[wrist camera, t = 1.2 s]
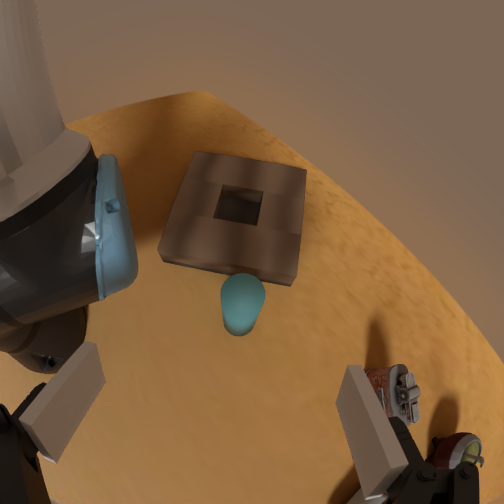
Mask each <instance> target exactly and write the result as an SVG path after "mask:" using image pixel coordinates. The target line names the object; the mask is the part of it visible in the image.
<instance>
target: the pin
mask: <svg viewBox="0 0 504 504" xmlns="http://www.w3.org/2000/svg"><path fill="white" fill-rule="evenodd" d="M264 300H265V289H264V286H263V284H262V283H261V282H260V280H259V279H258V278H256V277H255V276H253V275H251V274H247V273H238V274H234V275H232V276H230V277H229V278H228V279H227V280H226V281H225V282H224V284H223V285H222V288H221V304H222V313H223V322H224V326H225V328H226V330H227V331H228V332H229V333H230V334H232V335H234V336H244V335H246V334H248V333H249V332H250V331H251V330H252V329H253V326H254V324H255V322H256V319H257V317H258V315H259V312H260V310H261V308H262V305H263V303H264Z"/></svg>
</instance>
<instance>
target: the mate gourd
mask: <svg viewBox="0 0 504 504" xmlns="http://www.w3.org/2000/svg"><path fill="white" fill-rule="evenodd" d="M432 442H433V444H434V447H435V450H436V451H435V452H434V453H433V454H432V455H431V456H430V457H429V458H428V459H427V460H426V461H425V463H428V464H431V465H433V466H435V467H436V468H437V469H454V468H455V467H456V466H457V464H459V463H460V462H462V461H470V462H472V463H474V464H475V465H476V463H477V462H479V463H481V465H480V467H482V466H483V463H484V458H483V457H481V456H480V455H481V450H482V445H481V441H480V439H479V438H478V437H477V436H476V435H474V434H472V433H465V432H461V433H456V434H453V435H451V436H449V437H447V438H440V439H437V437H434V438H433V439H432Z"/></svg>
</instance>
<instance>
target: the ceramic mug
mask: <svg viewBox="0 0 504 504" xmlns="http://www.w3.org/2000/svg"><path fill="white" fill-rule="evenodd" d="M387 497H388V493H386V492H385V493H384V494H383V495H382V496H380V497H376V498H372V499H367V500H365V499H364V495H363V492H362V488H360V489H359V490H358V491H357V492H356V493H355V495H354V496H353V497H352V498H351V499H350V500H349V501H348V502H347V503H346V504H382V502H383V501H384V500H385V499H386V498H387Z"/></svg>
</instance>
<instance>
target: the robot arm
mask: <svg viewBox="0 0 504 504" xmlns="http://www.w3.org/2000/svg"><path fill="white" fill-rule="evenodd" d="M137 274H138V259H137V252H136V246H135V241H134V235H133V230H132V225H131V220H130V215H129V210H128V205H127V200H126V195H125V190H124V185H123V181H122V176H121V172H120V168H119V166H118V163H117V158H116V157H115V156H114V155H112V154H109V155H105V154H102V155H100V157H99V158H98V159H97V157H96V156H95V154H94V151H93V148H92V145H91V142H90V140H89V138H88V137H87V136H85V135H82V134H80V133H77V132H74V131H72V130H69V129H68V128H66V127H65V125H64V122H63V119H62V116H61V113H60V110H59V107H58V104H57V100H56V97H55V93H54V89H53V86H52V82H51V78H50V75H49V70H48V66H47V62H46V57H45V53H44V48H43V44H42V38H41V32H40V26H39V19H38V12H37V4H36V0H0V351H3V352H6V353H8V354H9V355H11V356H12V357H13V358H14V359H15V360H17V361H18V362H19V363H20V364H22V365H23V366H24V367H26V368H27V369H29V370H31V371H34V372H38V373H44V374H54V373H56V374H55V375H54V376H53V378H52V379H51V380H50V381H49V382H48V383H47V384H46V383H44V382H43V383H41V384H39V385H38V386H36V387H35V388H34V389H33V390H32V391H31V392H30V395H28V396H27V397H26V400H25V399H24V401H23V402H22V403H21V404H20V405H19V407H18V408H17V409H16V410H15V411H14V413H13V414H12V415H10V413H9V412H8V410H7V408H6V407H5V406H4V405H3V404H0V504H51V502H50V499H49V495H48V492H47V489H46V486H45V482H44V479H43V475H42V471H41V467H40V463H39V459H38V457H37V455H36V454H37V452H38V451H40V453H41V454H42V456H43V457H44V458H46V459H48V460H50V461H52V462H54V463H56V464H57V462H58V460H59V458H60V457H61V455H62V453H63V451H64V450H65V448H66V446H67V444H68V443H69V441H70V439H71V438H72V436H73V434H74V433H75V431H76V429H77V428H78V426H79V424H80V423H81V421H82V419H83V418H84V416H85V414H86V413H87V411H88V410H89V408H90V406H91V405H92V403H93V402H94V400H95V398H96V397H97V395H98V394H99V392H100V391H101V389H102V387H103V386H104V384H105V383H106V380H105V377H104V373H103V370H102V366H101V362H100V358H99V354H98V350H97V345H96V344H95V343H91V342H86V341H85V342H84V343H83V341H84V337H85V330H86V316H85V310H84V306H85V305H88V304H91V303H93V302H96V301H99V300H100V301H101V300H104V299H105V297H107V296H109V295H111V294H113V293H116V292H118V291H120V290H122V289H125V288H127V287H129V285H131V284H132V283H133V282H134V280H135V278H136V277H137ZM336 406H337V409H338V412H339V416H340V419H341V422H342V425H343V428H344V431H345V435H346V438H347V441H348V444H349V448H350V451H351V454H352V458H353V461H354V464H355V468H356V471H357V474H358V478H359V481H360V485H361V488H362V492H363V495H364V499H365V500H367V499H372V498H376V497H380V496H382V495H383V494H384V493H385V491H386V490H387V493H388V497H387V498H386V499H385V500H384V501H383V502H382V504H479V472H478V468H477V467H476V465H475V464H474V463H472V462H470V461H462V462H460V463H459V464H457V466H456V467H455V468H454V469H437V468H436V467H435V466H433V465H431V464H428V463H425V461H424V460H423V458H422V456H421V454H420V452H419V450H418V448H417V446H416V444H415V442H414V440H413V439H412V436H411V434H410V432H409V430H408V428H407V426H406V424H405V423H404V422H403V421H402V420H401V419H400V418H399V417H398V416H395V417H389V418H387V416H386V414H385V412H384V410H383V408H382V406H381V404H380V402H379V399H378V397H377V395H376V393H375V391H374V389H373V387H372V385H371V383H370V382H369V380H368V378H367V376H366V374H365V372H364V370H363V368H362V366H361V365H347V369H346V372H345V375H344V378H343V382H342V385H341V388H340V391H339V394H338V397H337V400H336Z"/></svg>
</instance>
